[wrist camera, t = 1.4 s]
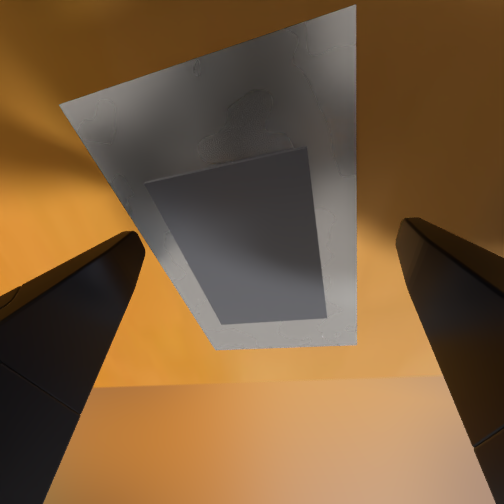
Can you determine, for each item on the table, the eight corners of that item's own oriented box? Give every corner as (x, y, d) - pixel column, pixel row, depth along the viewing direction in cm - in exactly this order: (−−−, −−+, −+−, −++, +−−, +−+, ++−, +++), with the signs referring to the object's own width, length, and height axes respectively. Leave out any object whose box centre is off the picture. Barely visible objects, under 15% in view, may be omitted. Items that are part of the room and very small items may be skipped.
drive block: (322, 19, 8) (357, 4, 4) (337, 260, 14) (357, 347, 10) (152, 76, 9) (55, 105, 5) (233, 272, 15) (215, 352, 11)
